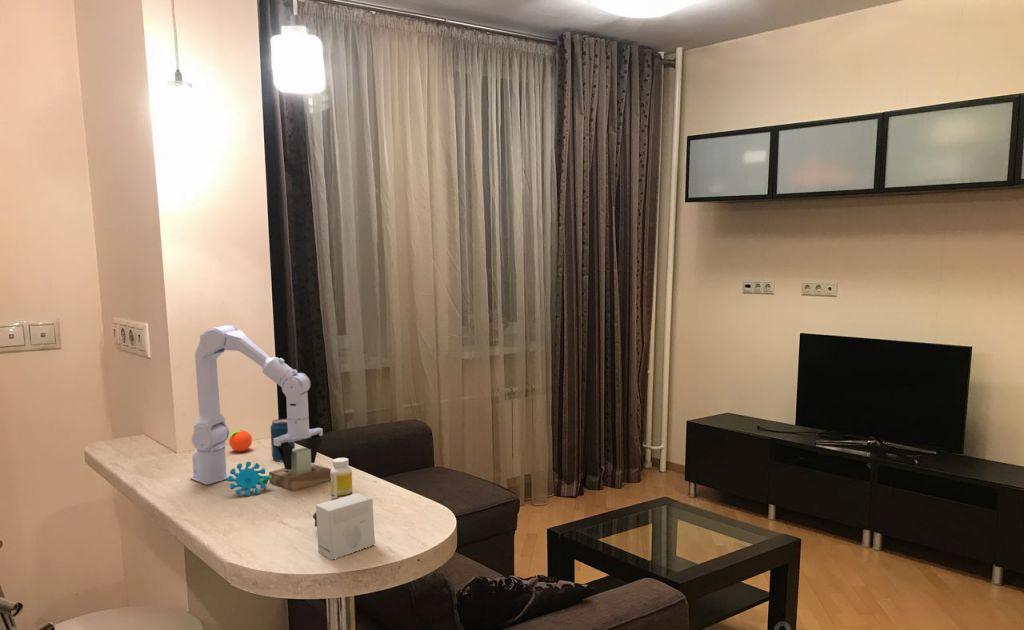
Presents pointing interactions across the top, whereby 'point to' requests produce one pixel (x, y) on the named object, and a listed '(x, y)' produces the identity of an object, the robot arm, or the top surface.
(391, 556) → the top surface
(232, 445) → the clementine
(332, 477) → the supplement bottle
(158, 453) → the top surface
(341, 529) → the skincare box
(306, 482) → the walnut collar
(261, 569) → the top surface
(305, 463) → the sage peg
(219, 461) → the robot arm
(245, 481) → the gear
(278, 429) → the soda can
